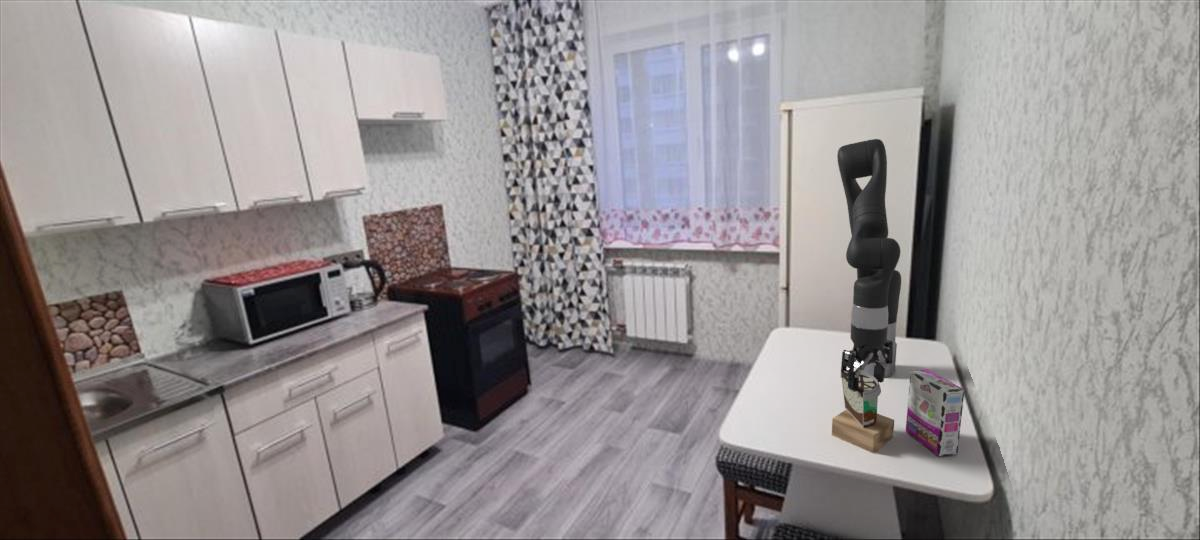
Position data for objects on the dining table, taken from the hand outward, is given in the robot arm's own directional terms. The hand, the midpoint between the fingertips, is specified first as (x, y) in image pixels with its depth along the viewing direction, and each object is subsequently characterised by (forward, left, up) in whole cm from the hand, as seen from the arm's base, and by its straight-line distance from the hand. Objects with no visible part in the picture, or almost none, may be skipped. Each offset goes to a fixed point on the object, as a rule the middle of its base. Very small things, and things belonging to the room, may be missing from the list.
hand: (865, 385), depth 117 cm
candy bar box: (-11, +9, -14) cm, 20 cm away
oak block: (0, 0, -14) cm, 14 cm away
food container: (-2, -1, -9) cm, 9 cm away
